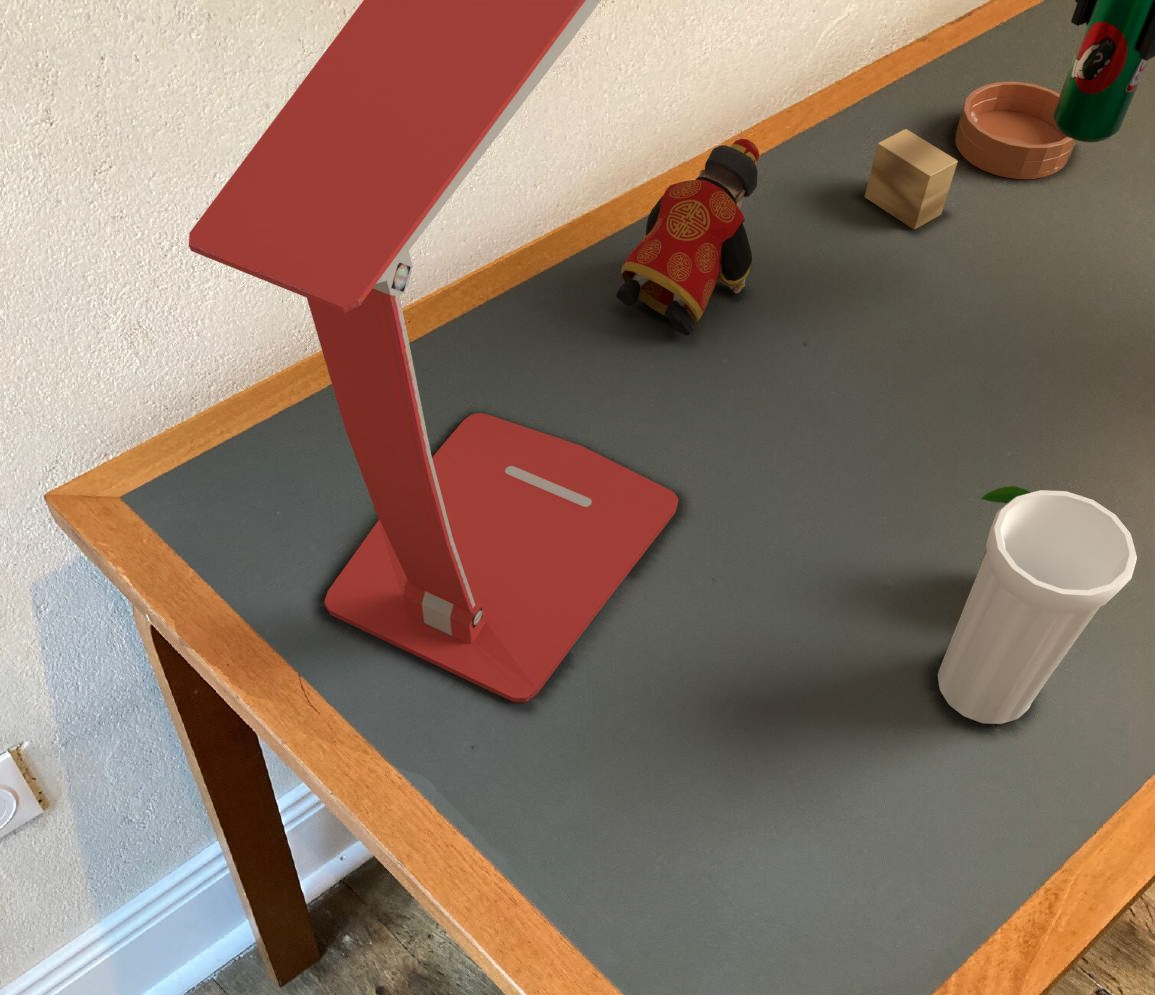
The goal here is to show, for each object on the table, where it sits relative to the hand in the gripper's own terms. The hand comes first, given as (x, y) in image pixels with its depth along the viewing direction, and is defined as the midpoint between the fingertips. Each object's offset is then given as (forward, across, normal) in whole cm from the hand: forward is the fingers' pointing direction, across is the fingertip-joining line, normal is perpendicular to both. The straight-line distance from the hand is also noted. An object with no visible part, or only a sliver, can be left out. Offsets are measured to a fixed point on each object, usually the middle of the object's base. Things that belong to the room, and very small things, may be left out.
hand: (1120, 32), depth 83 cm
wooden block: (+19, +13, +2) cm, 23 cm away
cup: (+19, -26, +37) cm, 49 cm away
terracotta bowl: (+19, +12, -13) cm, 26 cm away
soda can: (+7, 0, 0) cm, 7 cm away
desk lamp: (+19, +4, +52) cm, 55 cm away
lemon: (+19, -22, +30) cm, 42 cm away
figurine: (+19, +16, +25) cm, 35 cm away
